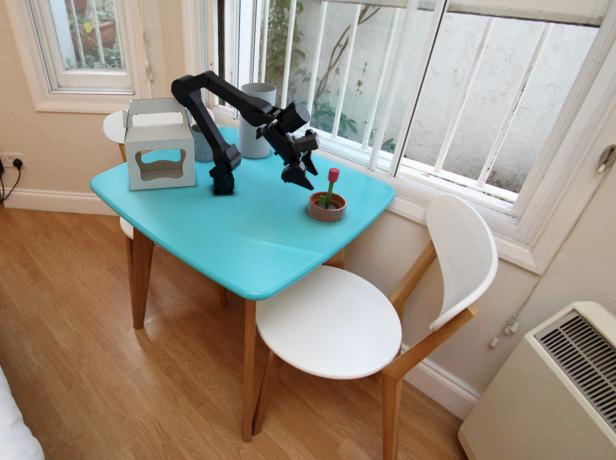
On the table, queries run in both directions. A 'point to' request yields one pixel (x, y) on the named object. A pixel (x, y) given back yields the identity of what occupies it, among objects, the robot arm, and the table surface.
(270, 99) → the cylinder vase
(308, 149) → the robot arm
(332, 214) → the bowl
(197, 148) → the grey cup
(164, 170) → the gable box
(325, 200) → the tulip
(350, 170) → the table surface
